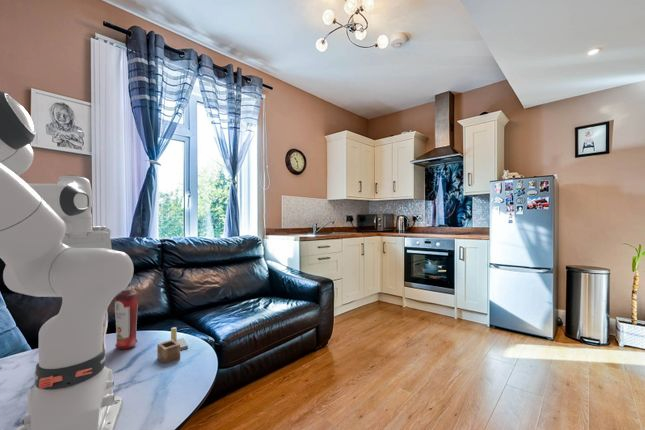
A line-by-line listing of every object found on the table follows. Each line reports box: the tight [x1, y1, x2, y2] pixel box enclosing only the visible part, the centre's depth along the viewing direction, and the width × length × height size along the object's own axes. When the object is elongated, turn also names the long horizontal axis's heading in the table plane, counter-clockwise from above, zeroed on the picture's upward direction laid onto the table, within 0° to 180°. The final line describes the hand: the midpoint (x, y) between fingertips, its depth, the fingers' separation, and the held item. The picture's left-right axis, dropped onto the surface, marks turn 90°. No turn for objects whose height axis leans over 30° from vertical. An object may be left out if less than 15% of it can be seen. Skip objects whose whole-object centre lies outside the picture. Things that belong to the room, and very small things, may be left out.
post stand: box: [170, 326, 189, 351], centre depth 106 cm, size 8×8×7 cm
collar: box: [156, 339, 181, 365], centre depth 98 cm, size 6×5×5 cm
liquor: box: [113, 282, 139, 350], centre depth 107 cm, size 7×7×28 cm
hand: (74, 270), depth 92 cm, fingers open, 8 cm apart
